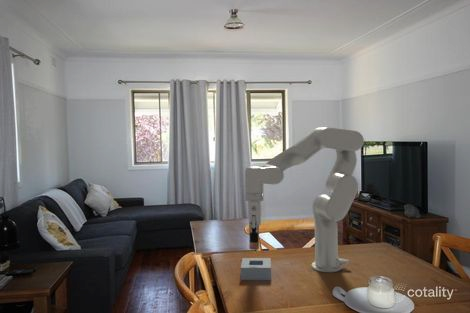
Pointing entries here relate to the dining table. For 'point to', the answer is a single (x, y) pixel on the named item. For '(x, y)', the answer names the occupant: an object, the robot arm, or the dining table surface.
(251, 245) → the peg
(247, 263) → the socket block
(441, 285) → the dining table surface
